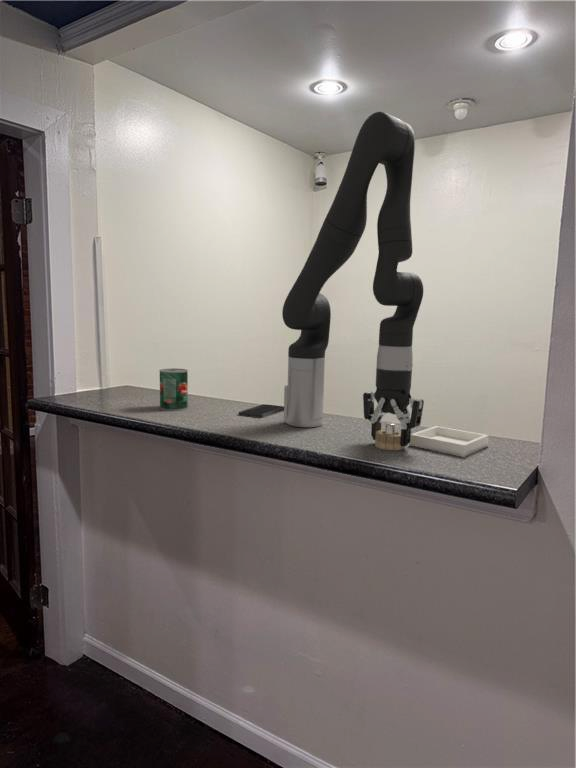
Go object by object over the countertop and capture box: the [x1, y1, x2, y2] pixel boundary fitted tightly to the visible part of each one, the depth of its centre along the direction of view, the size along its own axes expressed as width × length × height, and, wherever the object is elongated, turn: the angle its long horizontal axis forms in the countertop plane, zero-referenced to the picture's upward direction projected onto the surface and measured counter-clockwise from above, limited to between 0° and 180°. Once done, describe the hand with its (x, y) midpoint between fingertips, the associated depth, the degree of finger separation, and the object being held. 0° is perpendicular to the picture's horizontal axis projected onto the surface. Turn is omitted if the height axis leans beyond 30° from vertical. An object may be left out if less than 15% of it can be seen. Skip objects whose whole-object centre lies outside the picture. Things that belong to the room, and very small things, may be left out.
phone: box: [238, 403, 284, 419], centre depth 152 cm, size 8×1×15 cm
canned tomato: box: [158, 368, 189, 412], centre depth 154 cm, size 8×8×11 cm
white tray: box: [408, 425, 490, 458], centre depth 119 cm, size 13×13×2 cm
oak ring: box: [374, 428, 406, 451], centre depth 118 cm, size 6×6×3 cm
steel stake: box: [385, 422, 397, 435], centre depth 118 cm, size 2×2×5 cm
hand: (390, 442), depth 118 cm, fingers closed on oak ring, 6 cm apart
